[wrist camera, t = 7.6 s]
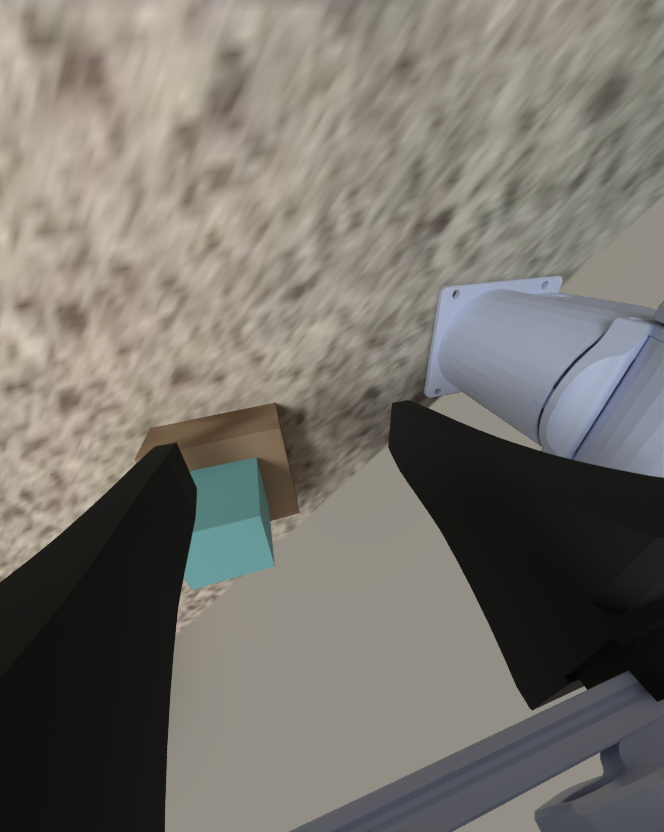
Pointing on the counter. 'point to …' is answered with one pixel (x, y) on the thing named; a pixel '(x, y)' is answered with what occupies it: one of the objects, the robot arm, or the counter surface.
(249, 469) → the teal cube
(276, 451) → the walnut block
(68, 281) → the counter surface
